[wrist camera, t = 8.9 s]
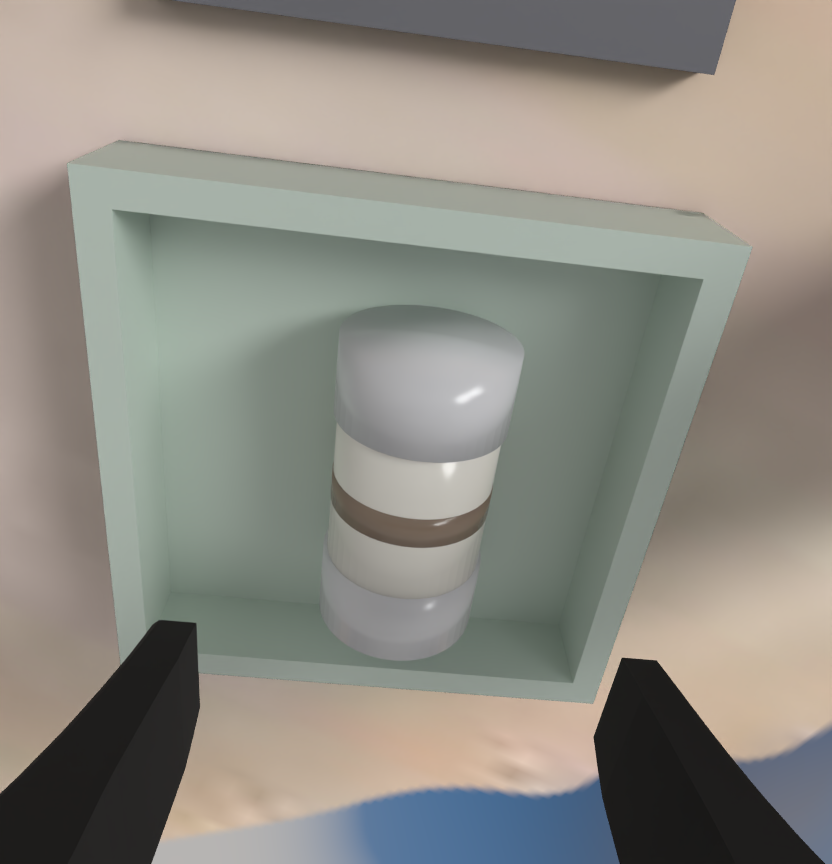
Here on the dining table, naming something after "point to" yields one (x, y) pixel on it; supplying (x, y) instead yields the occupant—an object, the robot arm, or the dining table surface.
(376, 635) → the fuse
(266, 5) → the fuse block
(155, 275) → the parts tray
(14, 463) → the dining table surface
